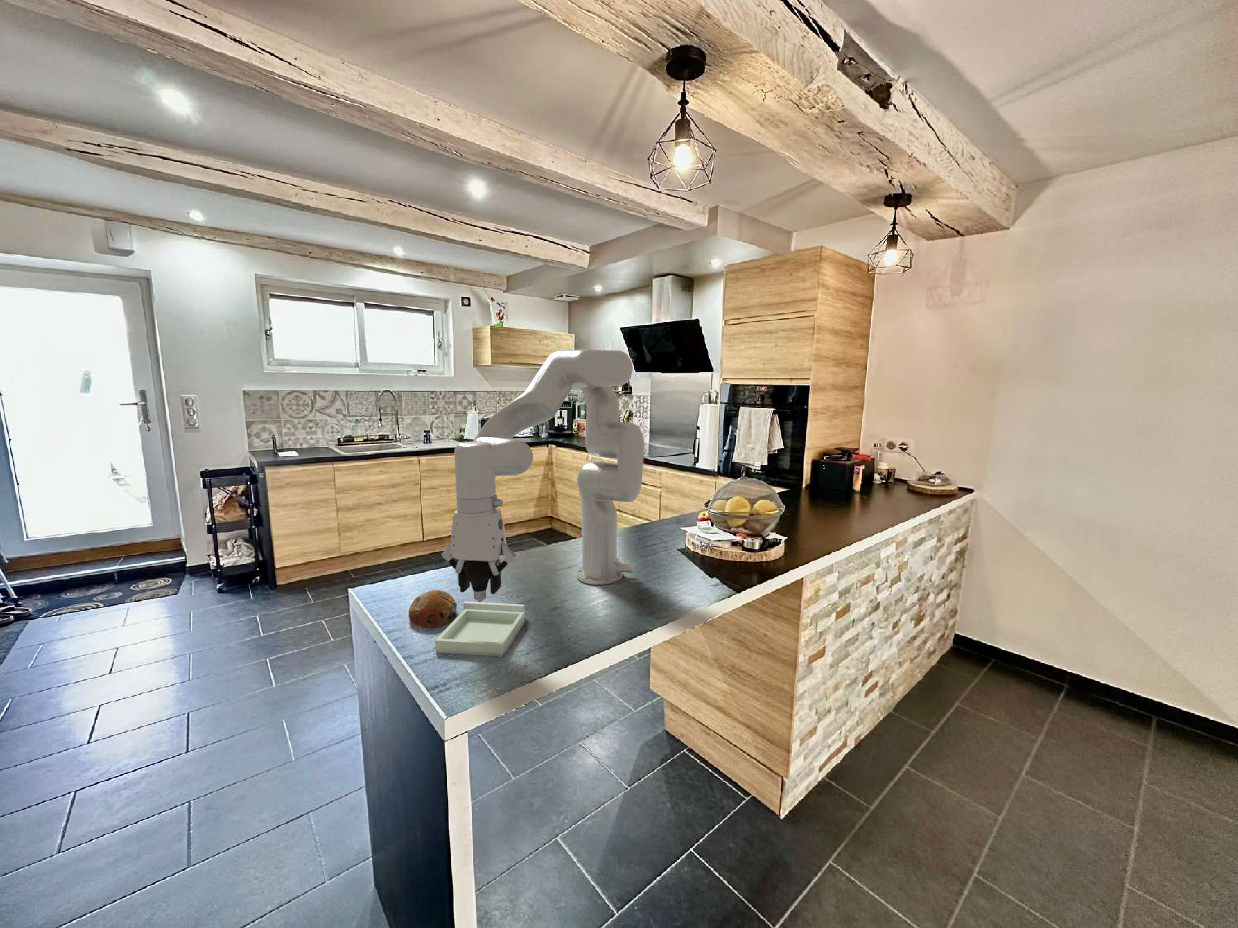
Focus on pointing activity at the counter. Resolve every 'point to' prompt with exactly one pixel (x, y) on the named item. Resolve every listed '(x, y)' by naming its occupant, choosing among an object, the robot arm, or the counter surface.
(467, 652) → the dish
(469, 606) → the white flat bar
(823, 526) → the counter surface
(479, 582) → the light bulb
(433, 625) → the bread roll
